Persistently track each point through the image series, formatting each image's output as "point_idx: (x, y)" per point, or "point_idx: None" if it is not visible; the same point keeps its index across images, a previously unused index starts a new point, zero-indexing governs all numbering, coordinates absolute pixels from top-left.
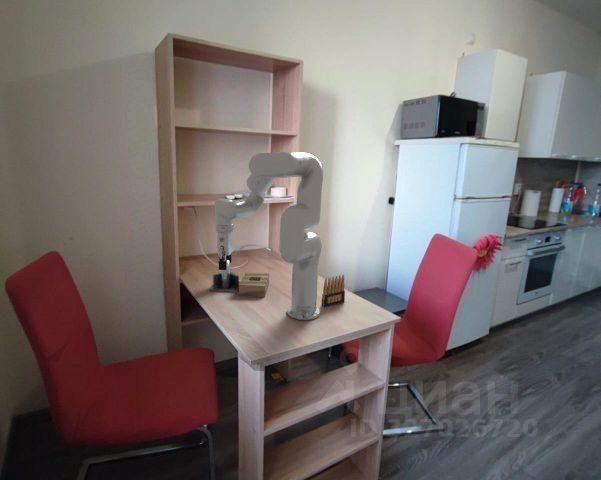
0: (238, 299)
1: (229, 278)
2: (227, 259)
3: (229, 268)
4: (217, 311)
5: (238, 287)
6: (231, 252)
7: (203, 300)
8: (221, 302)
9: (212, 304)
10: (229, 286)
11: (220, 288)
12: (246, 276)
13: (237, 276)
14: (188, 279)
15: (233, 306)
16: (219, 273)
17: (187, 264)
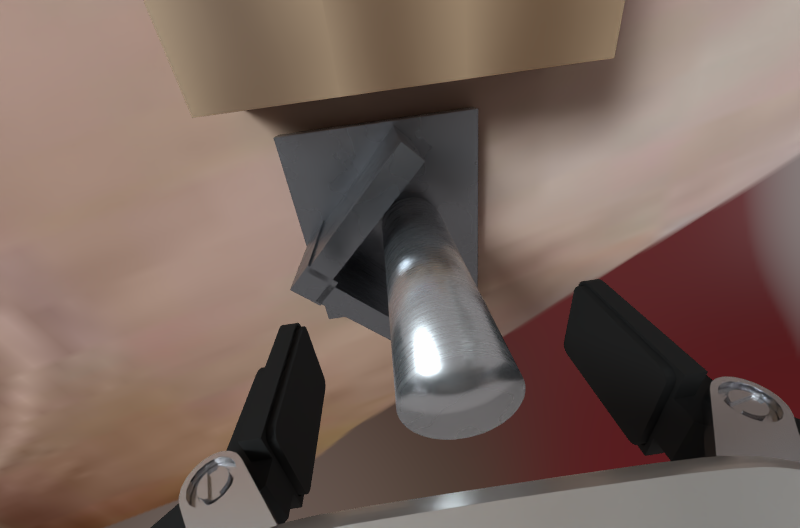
0: (618, 43)
1: (422, 223)
2: (409, 391)
3: (429, 276)
4: (793, 130)
5: (417, 119)
6: (513, 508)
7: (607, 267)
8: (654, 157)
9: (674, 200)
10: (416, 198)
11: (461, 243)
12: (326, 54)
13: (412, 151)
14: (335, 426)
15: (747, 39)
16: (384, 329)
17: (145, 501)
